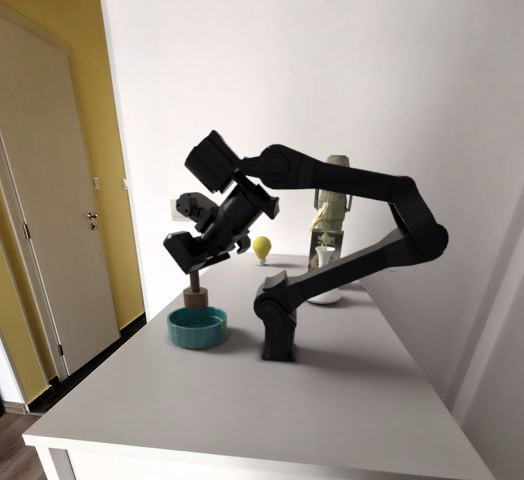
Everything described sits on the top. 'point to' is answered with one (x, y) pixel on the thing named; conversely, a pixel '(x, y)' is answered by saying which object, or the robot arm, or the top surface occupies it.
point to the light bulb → (261, 249)
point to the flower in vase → (324, 259)
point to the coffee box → (316, 241)
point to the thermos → (333, 200)
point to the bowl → (197, 327)
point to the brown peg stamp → (195, 293)
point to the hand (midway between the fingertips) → (188, 271)
